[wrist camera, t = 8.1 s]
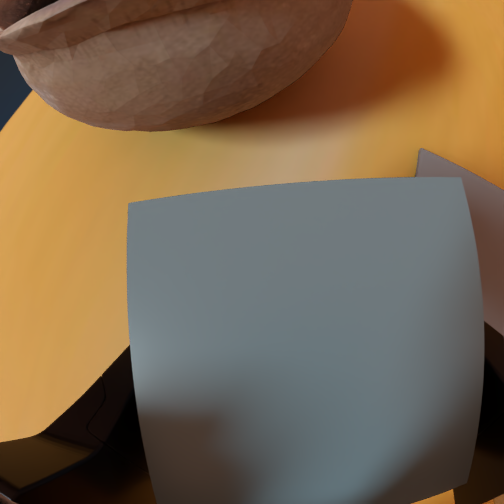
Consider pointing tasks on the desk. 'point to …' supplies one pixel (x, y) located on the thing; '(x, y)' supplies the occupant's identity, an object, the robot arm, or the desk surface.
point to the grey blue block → (307, 341)
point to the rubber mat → (479, 229)
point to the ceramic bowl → (165, 55)
